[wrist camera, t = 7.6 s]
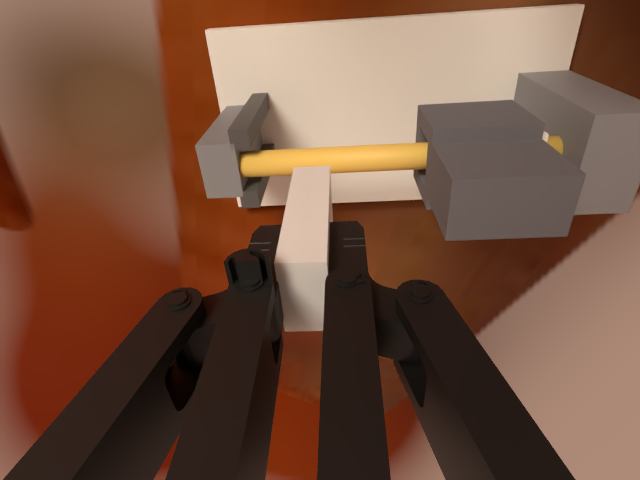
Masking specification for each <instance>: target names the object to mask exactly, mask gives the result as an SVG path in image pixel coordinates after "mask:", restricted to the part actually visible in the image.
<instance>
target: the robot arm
mask: <svg viewBox="0 0 640 480" xmlns="http://www.w3.org/2000/svg"><path fill="white" fill-rule="evenodd" d="M224 265H225V269H226V273H227V278H228V282H229V286H228V289H227V290H225V291H223V292H220V293H217V294H213V295H209V296H205V297H202V294H201V293H200V292H199V291H198V290H197V289H194V288H178V289H175V290H172V291H170V292H168V293H166V294H164V295H163V296H162V297H161V298H160V299H159V300H158V301H157V302H156V303H155V304H154V305H153V307H152V308H151V309H150V310H149V311H148V312H147V314H146V315H145V316H144V317H143V318H142V320H141V321H140V322H139V323H138V324H137V325H136V326H135V327H134V329H133V330H132V331H131V332H130V333H129V334H128V336H127V337H126V338H125V339H124V340H123V341H122V342H121V344H120V345H119V346H118V347H117V348H116V349H115V351H114V352H113V353H112V354H111V355H110V356H109V358H108V359H107V360H106V361H105V362H104V363H103V365H102V366H101V367H100V368H99V369H98V370H97V371H96V373H95V374H94V375H93V376H92V377H91V378H90V380H89V381H88V382H87V383H86V384H85V385H84V387H83V388H82V389H81V390H80V391H79V392H78V393H77V395H76V396H75V397H74V398H73V399H72V401H71V402H70V403H69V404H68V405H67V406H66V407H65V408H64V410H63V411H62V412H61V413H60V414H59V416H58V417H57V418H56V419H55V420H54V421H53V422H52V424H51V425H50V426H49V427H48V428H47V429H46V430H45V432H44V433H43V434H42V435H41V436H40V437H39V439H38V440H37V441H36V442H35V443H34V444H33V446H32V447H31V448H30V449H29V450H28V451H27V453H26V454H25V455H24V456H23V457H22V458H21V459H20V461H19V462H18V463H17V464H16V465H15V466H14V468H13V469H12V470H11V471H10V472H9V473H8V475H7V476H6V477H5V478H4V479H3V480H153V479H154V477H155V475H156V474H157V472H158V470H159V469H160V467H161V465H162V463H163V462H164V460H165V458H166V456H167V455H168V453H169V451H170V449H171V448H172V446H173V444H174V443H175V441H176V439H177V437H178V436H179V434H180V436H179V439H178V442H177V445H176V449H175V452H174V455H173V458H172V461H171V464H170V467H169V470H168V473H167V476H166V479H165V480H265V476H266V469H267V462H268V455H269V446H270V439H271V431H272V424H273V418H274V410H275V403H276V395H277V388H278V380H279V373H280V366H281V358H282V351H283V338H282V326H283V324H284V330H285V331H323V346H322V371H321V396H320V422H319V446H318V471H317V472H318V473H317V480H391V479H390V468H389V459H388V448H387V440H386V439H387V438H386V429H385V419H384V409H383V399H382V389H381V379H380V370H379V360H378V355H379V356H383V357H387V358H390V359H393V362H394V365H395V367H396V370H397V372H398V374H399V376H400V378H401V381H402V383H403V385H404V387H405V390H406V392H407V394H408V396H409V399H410V401H411V403H412V405H413V408H414V410H415V412H416V414H417V417H418V419H419V421H420V423H421V425H422V428H423V430H424V432H425V434H426V436H427V439H428V441H429V443H430V446H431V448H432V450H433V452H434V454H435V457H436V459H437V461H438V463H439V466H440V468H441V470H442V472H443V475H444V477H445V479H446V480H575V478H574V477H573V476H572V474H571V473H570V471H569V470H568V468H567V467H566V466H565V464H564V463H563V461H562V460H561V458H560V457H559V456H558V454H557V453H556V451H555V450H554V448H553V447H552V446H551V444H550V443H549V441H548V440H547V439H546V437H545V436H544V434H543V433H542V431H541V430H540V429H539V427H538V426H537V424H536V423H535V421H534V420H533V419H532V417H531V416H530V414H529V413H528V411H527V410H526V409H525V407H524V406H523V405H522V403H521V401H520V400H519V399H518V397H517V396H516V394H515V393H514V391H513V390H512V389H511V387H510V386H509V384H508V383H507V381H506V380H505V379H504V377H503V376H502V375H501V373H500V371H499V370H498V369H497V367H496V366H495V364H494V363H493V361H492V360H491V359H490V357H489V356H488V354H487V353H486V351H485V350H484V349H483V347H482V346H481V345H480V343H479V342H478V340H477V339H476V337H475V336H474V334H473V333H472V332H471V330H470V329H469V327H468V326H467V324H466V323H465V322H464V320H463V319H462V317H461V316H460V314H459V313H458V312H457V310H456V309H455V307H454V306H453V304H452V303H451V302H450V300H449V299H448V297H447V296H446V294H445V293H444V292H443V290H442V289H441V288H440V287H438V286H437V285H436V284H434V283H431V282H429V281H425V280H410V281H407V282H404V283H402V284H401V285H400V286H399V287H398V288H397V289H392V288H388V287H384V286H381V285H379V284H377V283H376V282H375V281H373V280H372V279H371V277H370V276H369V273H368V266H367V256H366V246H365V236H364V228H363V227H362V226H361V225H360V224H359V223H358V222H357V221H347V222H333V212H332V194H331V176H330V166H312V167H294V169H293V174H292V179H291V183H290V188H289V193H288V198H287V203H286V208H285V212H284V217H283V222H282V225H266V226H260V227H259V228H258V229H257V230H256V231H255V232H254V233H253V234H252V237H251V241H250V244H249V247H248V249H242V250H239V251H236V252H234V253H232V254H231V255H230V256H228V257H227V258H226V260H225V261H224ZM180 432H181V433H180Z"/></svg>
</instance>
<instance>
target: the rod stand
mask: <svg viewBox="0 0 640 480" xmlns="http://www.w3.org/2000/svg"><path fill="white" fill-rule="evenodd" d="M584 6H585V5H583V4H563V5H548V6H533V7H518V8H504V9H489V10H474V11H459V12H445V13H430V14H415V15H400V16H386V17H371V18H356V19H341V20H327V21H312V22H297V23H282V24H268V25H253V26H238V27H223V28H209V29H207V30H205V34H206V39H207V44H208V49H209V55H210V60H211V65H212V70H213V76H214V81H215V86H216V91H217V97H218V102H219V107H220V112H221V114H220V115H219V116H218V118H217V119H216V120H215V121H214V123H213V124H212V125H211V126H210V128H209V129H208V130H207V131H206V133H205V134H204V135H203V136H202V138H201V139H200V140H199V141H198V142H197V144H196V145H195V148H196V152H197V156H198V160H199V165H200V169H201V173H202V178H203V182H204V186H205V190H206V195H207V198H229V197H237V201H238V207H242V208H260V206H276V205H286V203H287V198H288V193H289V188H290V183H291V179H292V174H293V169H294V167H312V166H330V176H331V194H332V203H348V202H372V201H396V200H420V199H422V197H421V195H420V192H419V189H418V187H417V184H416V182H415V179H414V177H413V174H414V170H419V169H426V162H427V149H428V142H419V143H416V127H417V112H418V105H425V104H443V103H461V102H480V101H498V100H513V101H515V102H516V103H517V104H519V105H520V106H522V107H523V108H524V109H526V110H527V111H529V112H530V113H531V114H533V115H534V116H536V117H537V118H538V119H540V120H541V121H543V122H544V123H545V129H544V133H543V137H542V139H543V140H544V141H546V142H547V143H548V144H549V145H550V146H552V147H553V148H554V149H555V150H557V151H558V152H559V153H560V154H562V155H563V156H564V157H565V158H567V159H568V160H569V161H570V162H572V163H573V164H574V165H575V166H577V167H578V168H579V169H580V170H582V171H583V172H584V173H585V174H586V177H585V180H584V184H583V187H582V190H581V193H580V197H579V200H578V203H577V206H576V210H575V213H574V215H585V214H611V213H628V212H629V210H630V208H631V205H632V202H633V200H634V197H635V195H636V192H637V190H638V187H639V184H640V100H639V99H637V98H635V97H632V96H630V95H627V94H625V93H623V92H620V91H618V90H615V89H613V88H611V87H608V86H606V85H603V84H601V83H599V82H596V81H594V80H591V79H589V78H587V77H584V76H582V75H579V74H577V73H575V72H572V71H570V70H569V67H570V63H571V59H572V55H573V51H574V47H575V43H576V39H577V35H578V31H579V27H580V23H581V19H582V15H583V11H584Z"/></svg>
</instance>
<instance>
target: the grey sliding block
mask: <svg viewBox="0 0 640 480" xmlns="http://www.w3.org/2000/svg"><path fill="white" fill-rule="evenodd" d="M544 129H545V123H544V122H543V121H541V120H540V119H538V118H537V117H536V116H534V115H533V114H531V113H530V112H529V111H527V110H526V109H524V108H523V107H522V106H520V105H519V104H517V103H516V102H515V101H513V100H498V101H480V102H461V103H443V104H425V105H418V112H417V127H416V143H419V142H428V149H427V162H426V169H419V170H414V174H413V177H414V179H415V182H416V184H417V187H418V189H419V192H420V195H421V197H422V200H423V202H424V205H425V208H426V210H433V212H434V215H435V217H436V220H437V222H438V225H439V227H440V229H441V232H442V234H443V237H444V239H445V241H457V240H485V239H513V238H541V237H567V236H568V233H569V229H570V226H571V223H572V220H573V216H574V213H575V210H576V206H577V203H578V200H579V197H580V193H581V190H582V187H583V184H584V180H585V177H586V174H585V173H584V172H583V171H582V170H580V169H579V168H578V167H577V166H575V165H574V164H573V163H572V162H570V161H569V160H568V159H567V158H565V157H564V156H563V155H562V154H560V153H559V152H558V151H557V150H555V149H554V148H553V147H552V146H550V145H549V144H548V143H547V142H546V141H544V140H543V139H542V137H543V133H544Z"/></svg>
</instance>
